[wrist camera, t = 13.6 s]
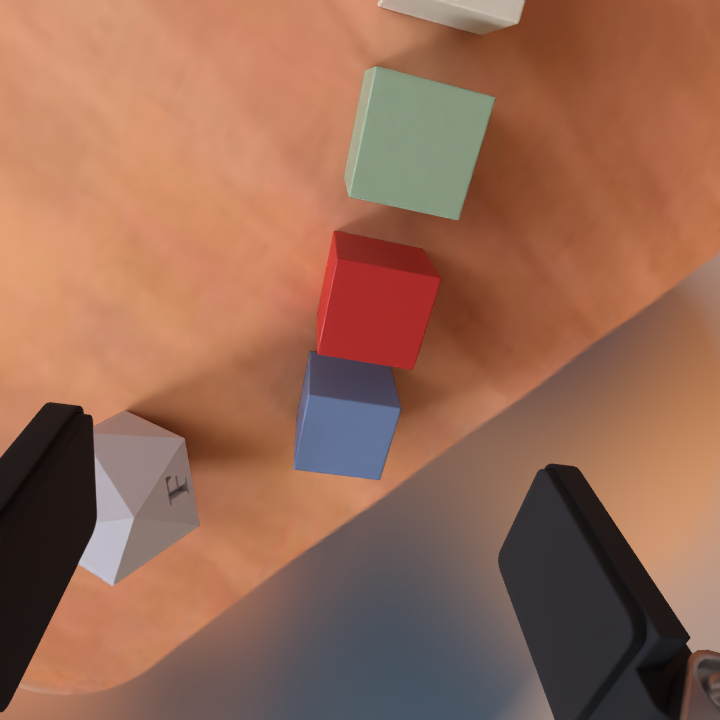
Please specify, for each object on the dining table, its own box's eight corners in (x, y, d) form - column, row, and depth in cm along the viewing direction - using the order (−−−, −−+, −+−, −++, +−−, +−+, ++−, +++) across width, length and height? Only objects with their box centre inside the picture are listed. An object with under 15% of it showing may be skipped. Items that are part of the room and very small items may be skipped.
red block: (333, 230, 28) (336, 257, 23) (422, 248, 28) (442, 278, 24) (316, 315, 30) (316, 354, 25) (400, 329, 31) (413, 370, 26)
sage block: (365, 69, 24) (375, 65, 20) (465, 95, 25) (496, 96, 21) (343, 178, 26) (348, 197, 22) (436, 199, 27) (459, 221, 23)
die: (187, 511, 37) (234, 562, 28) (42, 558, 32) (47, 638, 24) (166, 395, 36) (208, 413, 27) (13, 427, 31) (7, 460, 23)
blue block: (309, 350, 31) (308, 394, 26) (390, 363, 32) (402, 408, 27) (296, 418, 33) (293, 470, 29) (372, 429, 34) (380, 480, 29)
